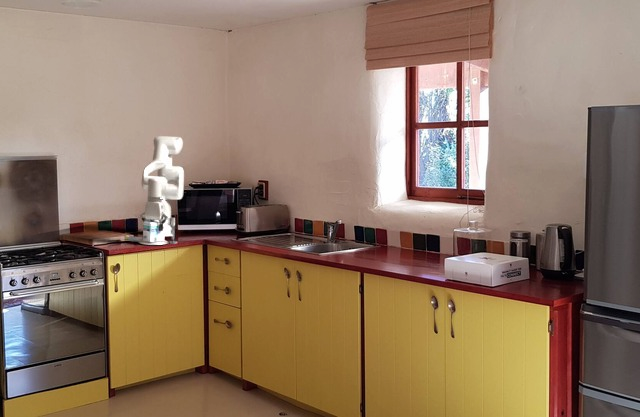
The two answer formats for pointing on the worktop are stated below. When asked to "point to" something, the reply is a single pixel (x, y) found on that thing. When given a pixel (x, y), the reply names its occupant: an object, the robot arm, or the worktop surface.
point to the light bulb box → (153, 231)
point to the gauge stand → (172, 223)
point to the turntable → (139, 239)
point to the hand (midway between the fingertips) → (153, 230)
